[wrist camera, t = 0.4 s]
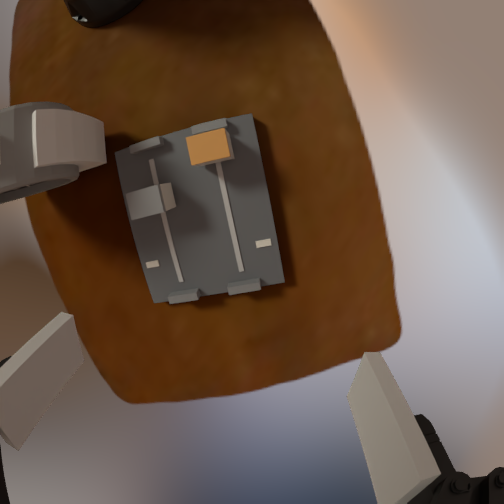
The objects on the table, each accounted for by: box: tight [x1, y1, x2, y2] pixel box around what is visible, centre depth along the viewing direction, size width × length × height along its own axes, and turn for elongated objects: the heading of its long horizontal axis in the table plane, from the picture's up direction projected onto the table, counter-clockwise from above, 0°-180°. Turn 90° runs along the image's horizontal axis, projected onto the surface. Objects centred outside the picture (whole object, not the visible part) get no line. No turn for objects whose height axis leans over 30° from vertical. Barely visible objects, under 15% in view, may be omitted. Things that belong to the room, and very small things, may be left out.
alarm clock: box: [0, 102, 107, 204], centre depth 24 cm, size 18×8×20 cm, turn 97°
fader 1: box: [126, 183, 176, 220], centre depth 30 cm, size 3×4×4 cm
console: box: [115, 113, 285, 304], centre depth 34 cm, size 21×18×4 cm
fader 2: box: [186, 128, 235, 166], centre depth 28 cm, size 3×4×4 cm
